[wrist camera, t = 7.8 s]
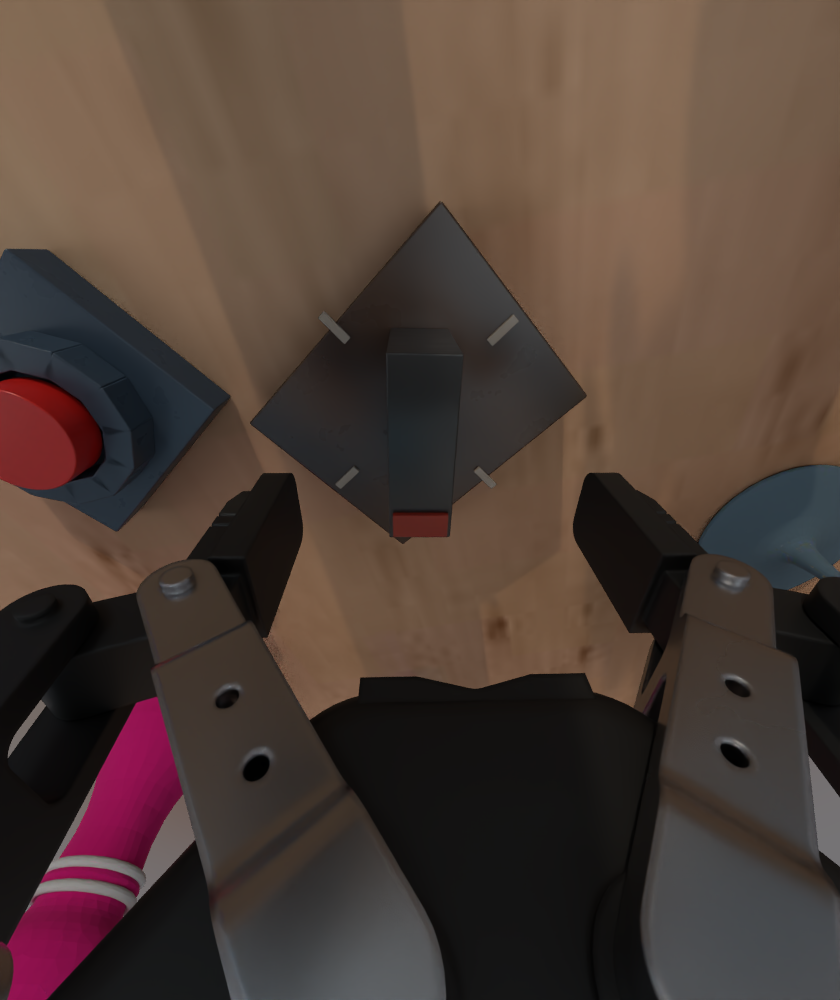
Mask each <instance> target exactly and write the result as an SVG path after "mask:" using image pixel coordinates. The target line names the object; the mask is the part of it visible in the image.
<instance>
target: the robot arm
mask: <svg viewBox="0 0 840 1000" xmlns="http://www.w3.org/2000/svg"><path fill="white" fill-rule="evenodd" d="M573 533H574V538H575V541H576V543H577V544H578V546H579V548H580V550H581V551H582V553H583V555H584V556H585V558H586V560H587V562H588V563H589V565H590V567H591V568H592V570H593V572H594V573H595V575H596V577H597V579H598V580H599V582H600V584H601V585H602V587H603V589H604V591H605V592H606V594H607V596H608V597H609V599H610V601H611V602H612V604H613V606H614V608H615V609H616V611H617V613H618V614H619V616H620V618H621V620H622V621H623V623H624V625H625V626H626V628H627V630H628V631H629V633H652V635H653V636H654V640H653V642H652V644H651V646H650V649H649V652H648V656H647V660H646V663H645V667H644V671H643V675H642V678H641V682H640V686H639V690H638V693H637V697H636V701H635V705H634V708H632V707H630V706H629V705H627V704H625V703H622V702H620V701H618V700H615V699H613V698H610V697H607V696H604V695H601V694H598V693H594V692H593V691H592V689H591V686H590V684H589V682H588V679H587V677H586V675H585V673H570V674H530V675H526V676H523V677H519V678H516V679H512V680H508V681H505V682H501V683H498V684H494V685H491V686H487V687H484V688H479V689H471V688H466V687H462V686H457V685H453V684H448V683H443V682H439V681H434V680H430V679H425V678H421V677H366V678H360V687H359V696H357V697H353V698H350V699H347V700H345V701H342V702H340V703H337V704H335V705H333V706H331V707H329V708H328V709H326V710H324V711H322V712H321V713H319V714H318V715H316V716H315V717H313V718H312V719H311V720H309V719H308V717H307V716H306V714H305V712H304V710H303V709H302V707H301V705H300V703H299V702H298V700H297V698H296V696H295V695H294V693H293V691H292V689H291V688H290V686H289V684H288V682H287V681H286V679H285V677H284V675H283V674H282V672H281V670H280V669H279V667H278V665H277V663H276V662H275V660H274V658H273V656H272V655H271V653H270V651H269V649H268V648H267V646H266V644H265V642H264V641H263V639H262V638H267V637H268V634H269V632H270V629H271V626H272V623H273V621H274V618H275V615H276V612H277V609H278V607H279V604H280V601H281V598H282V595H283V593H284V590H285V587H286V584H287V581H288V579H289V576H290V573H291V570H292V568H293V565H294V562H295V559H296V556H297V554H298V551H299V548H300V545H301V542H302V536H303V522H302V516H301V510H300V504H299V499H298V493H297V487H296V482H295V478H294V476H293V474H292V473H263V474H262V475H261V476H260V478H259V479H258V481H257V482H256V484H255V485H254V487H253V489H252V490H251V491H243V492H241V493H240V494H238V495H237V496H235V497H234V498H232V499H231V500H229V501H228V502H227V503H226V505H225V506H224V508H223V509H222V510H221V512H220V513H219V516H217V517H216V519H215V520H214V522H213V523H212V527H209V529H208V530H207V531H206V533H205V534H204V536H203V537H202V538H201V540H200V541H199V543H198V544H197V545H196V547H195V548H194V550H193V551H192V552H191V554H190V555H189V557H188V558H187V559H186V560H182V561H177V562H174V563H171V564H168V565H166V566H164V567H162V568H160V569H158V570H156V571H155V572H153V573H152V574H150V575H149V576H148V577H147V578H146V579H145V580H144V581H143V582H142V583H141V584H140V586H139V588H138V590H137V592H136V593H132V594H128V595H123V596H119V597H114V598H110V599H106V600H101V601H97V602H92V601H91V599H90V597H89V596H88V594H87V592H86V591H85V589H83V588H82V587H80V586H77V585H57V586H52V587H47V588H44V589H41V590H38V591H35V592H32V593H30V594H28V595H25V596H23V597H21V598H20V599H18V600H16V601H14V602H13V603H11V604H9V605H8V606H6V607H5V608H4V609H2V610H1V611H0V1000H7V999H8V996H9V992H10V989H11V985H12V980H13V972H14V967H13V958H12V954H11V951H10V950H9V948H8V947H7V945H8V943H9V941H10V939H11V937H12V935H13V933H14V931H15V930H16V928H17V926H18V924H19V922H20V920H21V918H22V916H23V915H24V913H25V910H26V909H27V907H28V905H29V903H30V901H31V899H32V898H33V896H34V894H35V892H36V890H37V888H38V886H39V884H40V883H41V881H42V879H43V877H44V875H45V873H46V871H47V869H48V868H49V866H50V864H51V862H52V860H53V858H54V856H55V854H56V852H57V851H58V849H59V847H60V845H61V843H62V841H63V839H64V838H65V836H66V834H67V832H68V830H69V828H70V826H71V824H72V823H73V821H74V819H75V817H76V815H77V813H78V811H79V809H80V808H81V806H82V804H83V802H84V800H85V798H86V796H87V794H88V793H89V791H90V789H91V787H92V785H93V783H94V781H95V779H96V778H97V776H98V774H99V772H100V770H101V768H102V766H103V764H104V763H105V761H106V759H107V757H108V755H109V753H110V751H111V749H112V747H113V746H114V744H115V742H116V740H117V738H118V736H119V734H120V732H121V731H122V729H123V727H124V725H125V723H126V721H127V719H128V717H129V716H130V714H131V712H132V710H133V708H134V706H135V704H136V703H137V702H141V701H144V700H147V699H151V698H154V697H157V698H158V701H159V705H160V709H161V713H162V716H163V720H164V724H165V728H166V731H167V735H168V739H169V743H170V746H171V750H172V754H173V758H174V761H175V765H176V769H177V773H178V776H179V780H180V784H181V788H182V791H183V795H184V799H185V802H186V806H187V810H188V814H189V818H190V821H191V825H192V829H193V832H194V836H195V841H194V842H193V843H192V844H191V845H190V846H189V847H188V848H187V849H186V850H185V851H184V852H183V853H182V855H180V857H179V858H178V859H177V860H176V861H175V862H174V863H173V864H172V865H171V866H170V867H169V868H168V869H167V871H166V872H165V873H164V874H163V875H162V876H161V877H160V878H159V879H158V880H157V881H156V882H155V884H153V886H152V887H151V888H150V889H149V890H148V891H147V892H146V893H145V894H144V895H143V896H142V897H141V898H140V899H139V901H138V902H137V903H136V904H135V905H134V906H133V907H132V908H131V909H130V910H129V911H128V912H127V913H126V914H125V916H124V917H123V918H122V919H121V920H120V921H119V922H118V923H117V924H116V925H115V926H114V927H113V928H112V930H111V931H110V932H109V933H108V934H107V935H106V936H105V937H104V938H103V939H102V940H101V941H100V942H99V943H98V945H97V946H96V947H95V948H94V949H93V950H92V951H91V952H90V953H89V954H88V955H87V956H86V957H85V958H84V960H83V961H82V962H81V963H80V964H79V965H78V966H77V967H76V968H75V969H74V970H73V971H72V972H71V974H70V975H69V976H68V977H67V978H66V979H65V980H64V981H63V982H62V983H61V984H60V985H59V986H58V987H57V989H56V990H55V991H54V992H53V993H52V994H51V995H50V996H49V997H48V998H47V999H46V1000H840V867H839V866H838V865H837V864H836V863H834V862H833V861H832V860H830V859H829V858H828V857H827V856H825V855H824V854H823V853H821V852H820V851H819V850H818V841H817V832H816V822H815V813H814V804H813V795H812V786H811V777H810V768H809V758H808V755H809V756H810V758H811V759H812V760H813V762H814V763H815V764H816V766H817V767H818V769H819V770H820V771H821V773H822V774H823V775H824V777H825V778H826V779H827V781H828V782H829V783H830V785H831V786H832V787H833V789H834V790H835V791H836V793H837V794H838V795H839V797H840V577H825V578H822V579H820V580H819V581H818V583H817V584H816V585H815V587H814V588H813V590H812V591H811V592H810V594H804V593H798V592H793V591H788V590H783V589H778V588H773V587H772V585H771V583H770V582H769V581H768V579H767V578H766V577H765V576H764V575H763V574H761V573H760V572H759V571H757V570H756V569H754V568H753V567H751V566H749V565H747V564H746V563H743V562H741V561H739V560H736V559H733V558H730V557H727V556H723V555H717V554H708V553H707V552H706V551H705V550H704V549H703V548H702V547H701V546H700V545H699V544H698V543H697V542H696V541H695V540H694V539H693V538H692V537H691V536H690V535H689V534H688V533H687V532H686V531H685V530H684V529H683V528H682V527H681V526H680V525H679V524H676V521H675V520H674V519H673V518H672V517H671V516H670V515H669V514H666V511H665V510H664V509H663V508H662V507H661V506H660V505H659V504H658V503H657V502H656V501H655V500H654V499H652V498H650V497H648V496H647V495H645V494H643V493H641V492H640V491H638V490H635V489H634V488H633V487H632V486H631V485H630V484H629V483H628V482H627V481H626V480H625V479H624V478H623V477H622V475H620V474H619V473H589V474H587V476H586V477H585V479H584V482H583V486H582V490H581V494H580V497H579V501H578V505H577V509H576V513H575V517H574V521H573ZM40 700H42V701H43V702H44V703H45V705H46V707H45V708H44V710H43V711H42V712H41V714H40V715H39V716H38V718H37V719H36V720H35V722H34V723H33V725H32V726H31V727H30V729H29V730H28V732H27V733H26V734H25V736H24V737H23V738H22V740H21V741H20V742H19V744H18V745H17V747H16V748H15V750H14V751H13V752H12V754H11V755H10V756H9V758H8V750H9V746H10V744H11V741H12V739H13V737H14V735H15V734H16V732H17V731H18V729H19V728H20V727H21V725H22V724H23V723H24V721H25V720H26V719H27V717H28V716H29V715H30V713H31V712H32V710H33V709H34V708H35V706H36V705H37V704H38V703H39V701H40Z"/></svg>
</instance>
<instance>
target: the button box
mask: <svg viewBox="0 0 840 1000" xmlns="http://www.w3.org/2000/svg"><path fill="white" fill-rule="evenodd" d="M15 377H28V378H35V379H39V380H43V381H46V382H49V383H51V384H54V385H56V386H58V387H60V388H62V389H63V390H65V391H66V392H68V393H70V394H71V395H72V396H74V397H75V398H76V399H77V400H78V401H80V402H81V403H82V404H83V405H84V406H85V407H86V409H87V410H88V411H89V413H90V414H91V416H92V417H93V418H94V420H95V421H96V423H97V425H98V427H99V429H100V432H101V435H102V442H103V447H102V452H101V455H100V457H99V459H98V461H97V462H96V463H95V464H94V465H93V466H91V467H90V468H89V469H87V470H86V471H84V472H83V473H81V474H80V475H78V476H77V477H75V478H74V479H72V480H71V481H69V482H68V483H66V484H65V485H63V486H61V487H58V488H54V489H48V490H34V489H27V488H23V487H19V486H17V487H19V488H20V489H22V490H24V491H26V492H27V493H29V494H31V495H34V496H38V497H43V498H48V499H53V500H58V501H63V502H66V503H67V504H69V505H71V506H73V507H74V508H76V509H78V510H79V511H81V512H83V513H85V514H86V515H88V516H90V517H92V518H93V519H95V520H97V521H99V522H100V523H102V524H104V525H106V526H107V527H109V528H111V529H113V530H114V531H119V530H120V529H121V528H122V527H123V526H124V525H125V524H126V523H127V522H128V521H129V520H130V519H131V518H132V517H133V516H134V515H135V514H136V513H137V512H138V511H139V510H140V509H141V508H142V507H143V505H144V504H145V503H146V502H147V500H148V499H149V498H150V497H151V496H152V494H153V493H154V492H155V491H156V489H157V488H158V487H159V486H160V484H161V483H162V482H163V481H164V479H165V478H166V477H167V476H168V474H169V473H170V472H171V471H172V470H173V468H174V467H175V466H176V465H177V463H178V462H179V461H180V460H181V458H182V457H183V456H184V455H185V453H186V452H187V451H188V450H189V449H190V447H191V446H192V445H193V444H194V442H195V441H196V440H197V439H198V437H199V436H200V435H201V434H202V432H203V431H204V430H205V429H206V427H207V426H208V425H209V424H210V423H211V421H212V420H213V419H214V418H215V416H216V415H217V414H218V413H219V411H220V410H221V409H222V408H223V406H224V405H225V404H226V403H227V401H228V400H229V399H230V395H228V394H227V393H226V392H225V391H223V390H222V389H221V388H220V387H218V386H217V385H216V384H215V383H213V382H212V381H211V380H210V379H208V378H207V377H206V376H205V375H203V374H202V373H201V372H200V371H199V370H197V369H196V368H195V367H194V366H192V365H191V364H190V363H189V362H187V361H186V360H185V359H184V358H182V357H181V356H180V355H179V354H177V353H176V352H175V351H174V350H172V349H171V348H170V347H169V346H167V345H166V344H165V343H164V342H162V341H161V340H160V339H159V338H157V337H156V336H155V335H154V334H152V333H151V332H150V331H149V330H147V329H146V328H145V327H144V326H142V325H141V324H140V323H139V322H137V321H136V320H135V319H134V318H132V317H131V316H130V315H129V314H127V313H126V312H125V311H124V310H122V309H121V308H120V307H119V306H117V305H116V304H115V303H114V302H112V301H111V300H110V299H109V298H107V297H106V296H105V295H104V294H102V293H101V292H100V291H99V290H97V289H96V288H95V287H94V286H92V285H91V284H90V283H89V282H87V281H86V280H85V279H84V278H82V277H81V276H80V275H79V274H77V273H76V272H75V271H74V270H72V269H71V268H70V267H69V266H67V265H66V264H65V263H64V262H62V261H61V260H60V259H59V258H57V257H56V256H55V255H54V254H52V253H51V252H50V251H49V250H46V249H5V250H4V252H3V254H2V256H1V259H0V381H3V380H6V379H10V378H15ZM15 486H16V485H15Z"/></svg>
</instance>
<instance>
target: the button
mask: <svg viewBox="0 0 840 1000" xmlns="http://www.w3.org/2000/svg"><path fill="white" fill-rule="evenodd" d="M102 447H103V442H102V435H101V432H100V429H99V427H98V425H97V423H96V421H95V420H94V418H93V417H92V416H91V414H90V413H89V411H88V410H87V409H86V407H85V406H84V405H83V404H82V403H81V402H80V401H78V400H77V399H76V398H75V397H74V396H72V395H71V394H70V393H68V392H66V391H65V390H63V389H62V388H60V387H58V386H56V385H54V384H51V383H49V382H46V381H43V380H39V379H35V378H28V377H15V378H10V379H6V380H3V381H0V479H2V480H3V481H6V482H8V483H10V484H13V485H16V486H19V487H23V488H27V489H34V490H48V489H54V488H58V487H61V486H63V485H65V484H66V483H68V482H69V481H71V480H72V479H74V478H75V477H77V476H78V475H80V474H81V473H83V472H84V471H86V470H87V469H89V468H90V467H91V466H93V465H94V464H95V463H96V462H97V461H98V459H99V457H100V455H101V452H102Z"/></svg>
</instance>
